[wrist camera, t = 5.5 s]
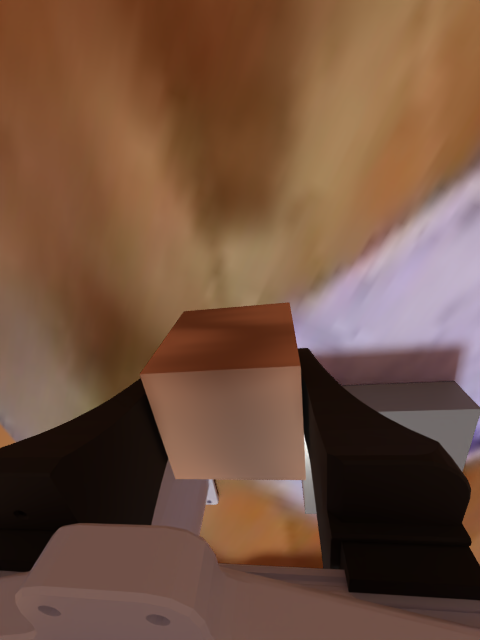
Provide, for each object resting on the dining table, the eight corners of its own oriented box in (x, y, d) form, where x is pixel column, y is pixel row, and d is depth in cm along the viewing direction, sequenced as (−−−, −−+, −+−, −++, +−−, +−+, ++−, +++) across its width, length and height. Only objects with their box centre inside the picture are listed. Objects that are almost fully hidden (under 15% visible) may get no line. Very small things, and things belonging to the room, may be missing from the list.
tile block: (301, 482, 28) (305, 513, 25) (296, 387, 23) (300, 414, 20) (430, 483, 26) (448, 517, 23) (454, 381, 21) (481, 409, 18)
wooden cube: (203, 394, 15) (175, 479, 11) (184, 311, 13) (139, 374, 9) (294, 390, 15) (305, 479, 10) (289, 302, 12) (300, 365, 8)
